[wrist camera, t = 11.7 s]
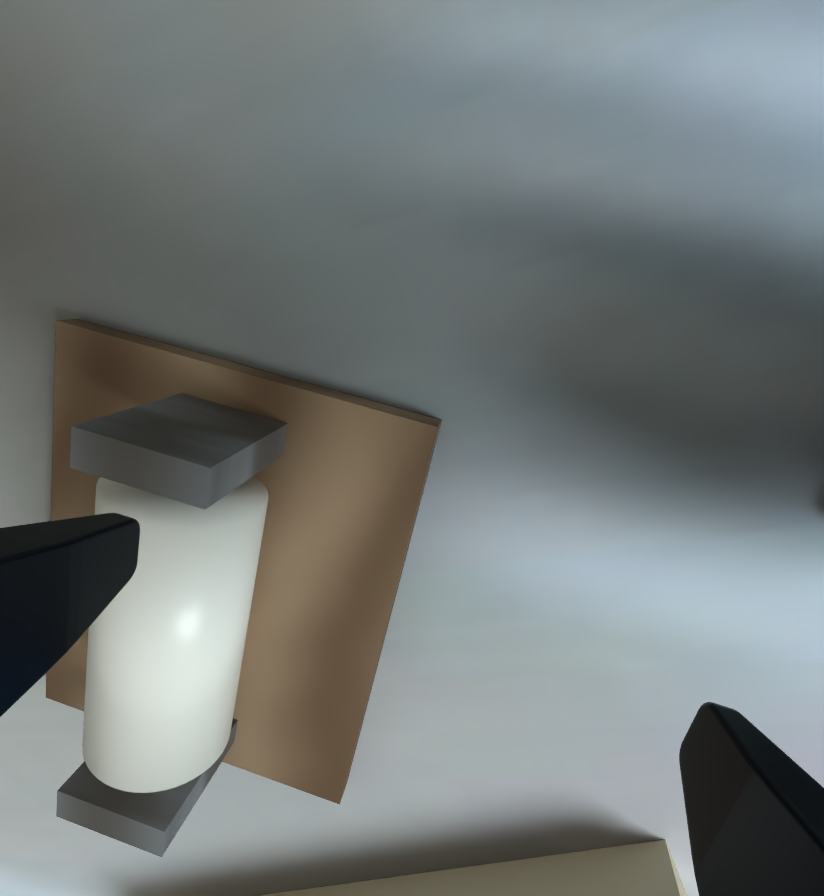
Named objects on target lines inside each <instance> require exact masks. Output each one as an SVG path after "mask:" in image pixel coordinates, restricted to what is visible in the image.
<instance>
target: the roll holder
mask: <svg viewBox="0 0 824 896" xmlns="http://www.w3.org/2000/svg"><path fill="white" fill-rule="evenodd" d="M441 421H442V420H439V419H435V418H432V417H428V416H424V415H421V414H417V413H414V412H410V411H406V410H403V409H399V408H396V407H392V406H388V405H385V404H381V403H378V402H374V401H370V400H367V399H363V398H360V397H356V396H352V395H349V394H345V393H342V392H338V391H334V390H331V389H327V388H324V387H320V386H316V385H313V384H309V383H306V382H302V381H298V380H295V379H291V378H288V377H284V376H280V375H277V374H273V373H270V372H266V371H262V370H259V369H255V368H252V367H248V366H244V365H241V364H237V363H234V362H230V361H226V360H223V359H219V358H216V357H212V356H208V355H205V354H201V353H198V352H194V351H190V350H187V349H183V348H180V347H176V346H172V345H169V344H165V343H162V342H158V341H154V340H151V339H147V338H144V337H140V336H137V335H133V334H129V333H126V332H122V331H119V330H115V329H111V328H108V327H104V326H101V325H97V324H93V323H90V322H86V321H83V320H79V319H73V320H57V321H56V345H55V382H54V418H53V455H52V491H51V521H55V520H62V519H70V518H77V517H84V516H91V515H95V497H96V485H97V482H98V480H99V479H100V477H102V478H105V479H108V480H111V481H115V482H118V483H121V484H124V485H127V486H131V487H134V488H137V489H140V490H143V491H147V492H150V493H153V494H156V495H160V496H163V497H166V498H169V499H172V500H176V501H179V502H182V503H185V504H188V505H192V506H195V507H198V508H201V509H207V508H208V507H210V506H211V505H213V504H214V503H216V502H217V501H218V500H220V499H221V498H223V497H224V496H226V495H227V494H228V493H230V492H231V491H233V490H234V489H236V488H237V487H238V486H240V485H241V484H243V483H244V482H246V481H247V480H248V479H250V478H251V477H253V476H254V477H256V478H257V479H258V480H260V481H261V482H262V483H263V484H264V486H265V487H266V489H267V491H268V504H267V510H266V517H265V523H264V529H263V535H262V541H261V547H260V554H259V560H258V566H257V572H256V578H255V584H254V591H253V597H252V603H251V609H250V615H249V621H248V628H247V634H246V640H245V646H244V652H243V658H242V665H241V671H240V677H239V683H238V689H237V695H236V702H235V708H234V714H233V720H232V726H231V732H230V737H229V740H228V743H227V745H226V747H225V749H224V751H223V753H222V754H221V755H220V757H219V758H218V759H217V761H216V762H215V763H214V764H213V765H212V766H211V767H210V768H208V769H207V770H206V771H205V772H204V773H202V774H201V775H199V776H198V777H196V778H195V779H193V780H191V781H189V782H187V783H185V784H182V785H180V786H177V787H175V788H171V789H168V790H164V791H158V792H149V793H134V792H127V791H122V790H119V789H115V788H113V787H110V786H108V785H106V784H104V783H103V782H101V781H100V780H98V779H97V778H96V777H95V776H94V775H93V774H92V773H91V771H90V770H89V768H88V767H87V765H86V763H85V762H84V763H83V764H82V765H81V766H80V767H79V768H78V769H77V770H76V771H75V772H74V773H73V775H72V776H71V777H70V778H69V779H68V780H67V781H66V782H65V783H64V784H63V785H62V786H61V788H60V789H59V790H58V791H57V817H60V818H62V819H65V820H68V821H70V822H73V823H75V824H78V825H80V826H83V827H86V828H88V829H91V830H93V831H96V832H98V833H101V834H104V835H106V836H109V837H111V838H114V839H116V840H119V841H122V842H124V843H127V844H129V845H132V846H134V847H137V848H140V849H142V850H145V851H147V852H150V853H152V854H155V855H158V856H160V857H162V856H163V854H164V852H165V851H166V849H167V848H168V846H169V844H170V843H171V841H172V840H173V838H174V836H175V835H176V833H177V832H178V830H179V829H180V827H181V825H182V824H183V822H184V821H185V819H186V817H187V816H188V814H189V813H190V811H191V809H192V808H193V806H194V805H195V803H196V802H197V800H198V798H199V797H200V795H201V794H202V792H203V790H204V789H205V787H206V786H207V784H208V782H209V781H210V779H211V778H212V776H213V775H214V773H215V771H216V770H217V768H218V767H219V765H220V763H221V762H225V763H228V764H230V765H233V766H236V767H239V768H241V769H244V770H247V771H250V772H252V773H255V774H258V775H261V776H263V777H266V778H269V779H272V780H274V781H277V782H280V783H283V784H285V785H288V786H291V787H294V788H296V789H299V790H302V791H305V792H307V793H310V794H313V795H316V796H318V797H321V798H324V799H327V800H329V801H332V802H335V803H338V804H340V801H341V799H342V796H343V793H344V790H345V787H346V784H347V780H348V777H349V773H350V769H351V765H352V761H353V757H354V754H355V750H356V746H357V742H358V738H359V735H360V731H361V727H362V723H363V719H364V715H365V712H366V708H367V704H368V700H369V696H370V692H371V689H372V685H373V681H374V677H375V673H376V670H377V666H378V662H379V658H380V654H381V650H382V647H383V643H384V639H385V635H386V631H387V627H388V624H389V620H390V616H391V612H392V608H393V604H394V601H395V597H396V593H397V589H398V585H399V582H400V578H401V574H402V570H403V566H404V562H405V559H406V555H407V551H408V547H409V543H410V539H411V536H412V532H413V528H414V524H415V520H416V517H417V513H418V509H419V505H420V501H421V497H422V494H423V490H424V486H425V482H426V478H427V474H428V471H429V467H430V463H431V459H432V455H433V451H434V448H435V444H436V440H437V436H438V432H439V429H440V425H441ZM88 630H89V628H88V629H87V630H86V631H85V633H84V634H83V635H82V636H81V637H80V638H79V640H78V641H77V642H76V643H75V644H74V645H73V646H72V647H71V648H70V649H69V651H68V652H67V653H66V654H65V655H64V656H63V657H62V658H61V659H60V660H59V661H58V662H57V663H56V664H55V665H54V666H53V667H52V668H51V669H50V670H49V671H48V672H47V673H46V698H49V699H52V700H54V701H57V702H60V703H63V704H65V705H68V706H71V707H74V708H76V709H79V710H82V711H84V706H85V687H86V668H87V649H88Z"/></svg>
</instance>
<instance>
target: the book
mask: <svg viewBox="0 0 824 896" xmlns="http://www.w3.org/2000/svg"><path fill="white" fill-rule="evenodd" d="M259 896H687V893H686V891H685V888H684V886H683V883H682V881H681V878H680V876H679V873H678V871H677V868H676V866H675V863H674V861H673V858H672V856H671V853H670V851H669V848H668V846H667V843H666V841H665V840H658V841H651V842H644V843H637V844H629V845H622V846H615V847H608V848H600V849H593V850H586V851H578V852H571V853H564V854H557V855H549V856H542V857H535V858H528V859H520V860H513V861H506V862H499V863H491V864H484V865H477V866H470V867H462V868H455V869H448V870H440V871H433V872H426V873H419V874H411V875H404V876H397V877H390V878H382V879H375V880H368V881H361V882H353V883H346V884H339V885H331V886H324V887H317V888H310V889H302V890H295V891H288V892H281V893H273V894H266V895H259Z"/></svg>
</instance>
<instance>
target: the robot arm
mask: <svg viewBox="0 0 824 896" xmlns="http://www.w3.org/2000/svg"><path fill="white" fill-rule="evenodd" d="M139 539H140V525H139V522H138V521H137V520H136V519H134V518H131V517H128V516H125V515H121V514H118V513H105V514H98V515H91V516H84V517H77V518H70V519H62V520H55V521H48V522H41V523H34V524H27V525H19V526H12V527H5V528H0V717H1V716H2V715H3V714H4V713H5V712H6V711H7V710H8V709H9V708H10V707H11V706H12V705H13V704H14V703H15V702H16V701H17V700H18V699H19V698H20V697H21V696H23V695H24V694H25V693H26V692H27V691H28V690H29V689H30V688H31V687H32V686H33V685H34V684H35V683H36V682H37V681H38V680H39V679H40V678H41V677H42V676H43V675H44V674H45V673H46V672H48V671H49V670H50V669H51V668H52V667H53V666H54V665H55V664H56V663H57V662H58V661H59V660H60V659H61V658H62V657H63V656H64V655H65V654H66V653H67V652H68V651H69V649H70V648H71V647H72V646H73V645H74V644H75V643H76V642H77V641H78V640H79V638H80V637H81V636H82V635H83V634H84V633H85V631H86V630H87V629H88V628H89V627H90V626H91V625H92V623H93V622H94V621H95V620H96V619H97V618H98V616H99V615H100V614H101V613H102V612H103V611H104V609H105V608H106V607H107V606H108V605H109V604H110V602H111V601H112V600H113V599H114V598H115V597H116V596H117V594H118V593H119V592H120V591H121V590H122V589H123V587H124V586H125V585H126V584H127V583H128V582H129V580H130V579H131V578H132V576H133V574H134V572H135V570H136V567H137V562H138V550H139ZM679 761H680V770H681V777H682V785H683V793H684V800H685V808H686V815H687V823H688V831H689V838H690V846H691V854H692V860H693V866H694V872H695V878H696V882H697V887H698V892H699V896H824V788H823V787H822V786H821V785H820V784H819V783H818V782H817V781H815V780H814V779H813V778H812V777H811V776H810V775H809V774H808V773H806V772H805V771H804V770H803V769H802V768H801V767H800V766H799V765H797V764H796V763H795V762H794V761H793V760H792V759H791V758H790V757H789V756H787V755H786V754H785V753H784V752H783V751H782V750H781V749H780V748H778V747H777V746H776V745H775V744H774V743H773V742H772V741H771V740H769V739H768V738H767V737H766V736H765V735H764V734H763V733H762V732H761V731H759V730H758V729H757V728H756V727H755V726H754V725H753V724H752V723H750V722H749V721H748V720H747V719H746V718H745V717H744V716H743V715H742V714H740V713H739V712H738V711H736V710H734V709H731V708H728V707H725V706H722V705H719V704H715V703H712V702H707V703H704V704H703V705H702V706H701V707H700V709H699V710H698V712H697V714H696V716H695V718H694V720H693V722H692V724H691V726H690V728H689V730H688V732H687V734H686V736H685V738H684V740H683V742H682V744H681V748H680V754H679Z"/></svg>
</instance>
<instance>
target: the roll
mask: <svg viewBox="0 0 824 896" xmlns="http://www.w3.org/2000/svg"><path fill="white" fill-rule="evenodd" d="M267 504H268V491H267V489H266V487H265V486H264V484H263V483H262V482H261V481H260V480H258V479H257V478H256V477H254V476H253V477H251V478H250V479H248V480H247V481H246V482H244V483H243V484H241V485H240V486H238V487H237V488H236V489H234V490H233V491H231V492H230V493H228V494H227V495H226V496H224V497H223V498H221V499H220V500H218V501H217V502H216V503H214V504H213V505H211V506H210V507H208V508H207V509H201V508H198V507H195V506H192V505H188V504H185V503H182V502H179V501H176V500H172V499H169V498H166V497H163V496H160V495H156V494H153V493H150V492H147V491H143V490H140V489H137V488H134V487H131V486H127V485H124V484H121V483H118V482H115V481H111V480H108V479H105V478H102V477H100V479H99V480H98V482H97V485H96V497H95V515H98V514H105V513H118V514H121V515H125V516H128V517H131V518H134V519H136V520H137V521H138V522H139V525H140V539H139V550H138V562H137V567H136V570H135V572H134V574H133V576H132V578H131V579H130V580H129V582H128V583H127V584H126V585H125V586H124V587H123V589H122V590H121V591H120V592H119V593H118V594H117V596H116V597H115V598H114V599H113V600H112V601H111V602H110V604H109V605H108V606H107V607H106V608H105V609H104V611H103V612H102V613H101V614H100V615H99V616H98V618H97V619H96V620H95V621H94V622H93V623H92V625H91V626H90V627H89V630H88V649H87V668H86V687H85V706H84V725H83V744H82V747H83V756H84V760H85V763H86V765H87V767H88V768H89V770H90V771H91V773H92V774H93V775H94V776H95V777H96V778H97V779H98V780H100V781H101V782H103V783H104V784H106V785H108V786H110V787H113V788H115V789H119V790H122V791H127V792H134V793H149V792H158V791H164V790H168V789H171V788H175V787H177V786H180V785H182V784H185V783H187V782H189V781H191V780H193V779H195V778H196V777H198V776H199V775H201V774H202V773H204V772H205V771H206V770H207V769H208V768H210V767H211V766H212V765H213V764H214V763H215V762H216V761H217V759H218V758H219V757H220V755H221V754H222V753H223V751H224V749H225V747H226V745H227V743H228V740H229V737H230V732H231V726H232V720H233V714H234V708H235V702H236V695H237V689H238V683H239V677H240V671H241V665H242V658H243V652H244V646H245V640H246V634H247V628H248V621H249V615H250V609H251V603H252V597H253V591H254V584H255V578H256V572H257V566H258V560H259V554H260V547H261V541H262V535H263V529H264V523H265V517H266V510H267Z"/></svg>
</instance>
